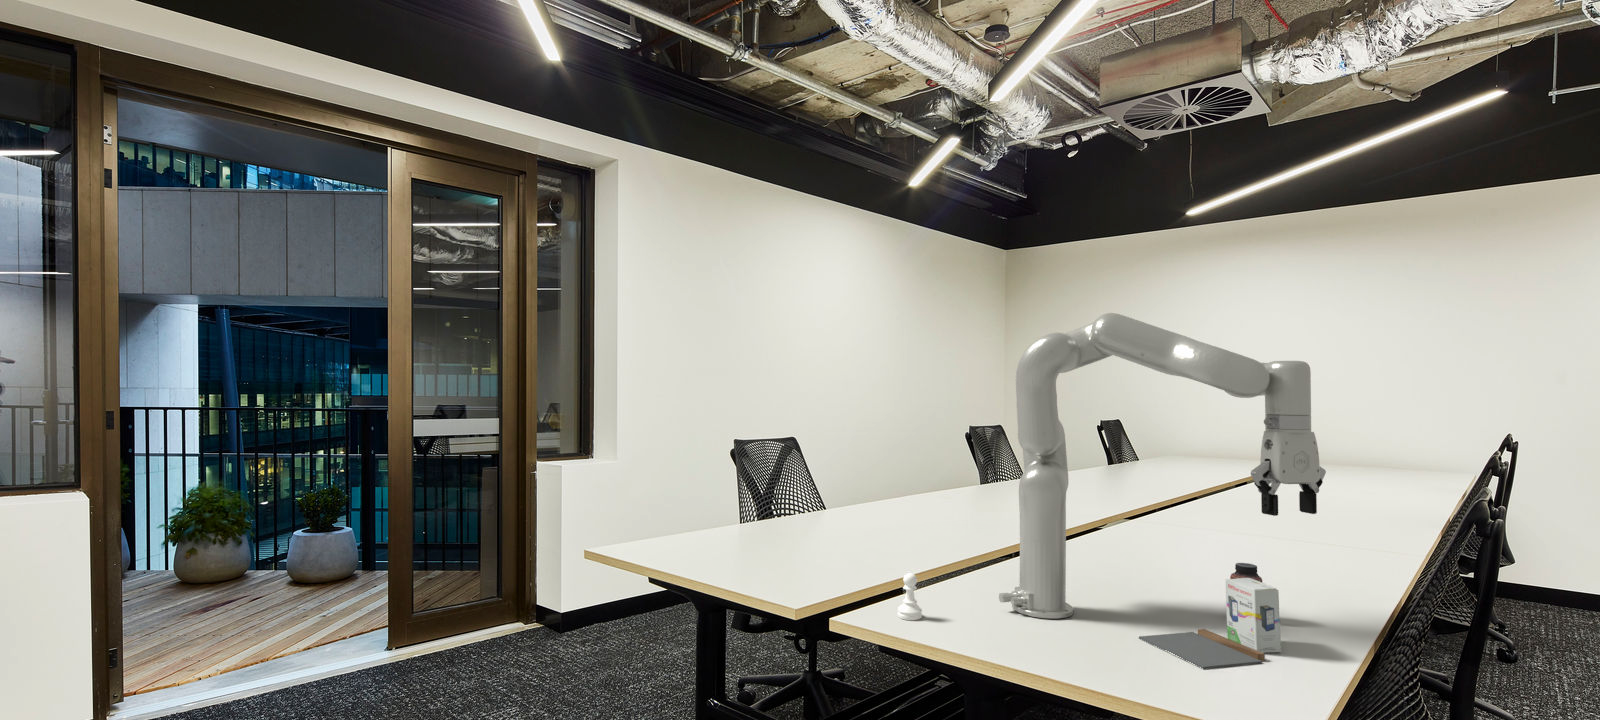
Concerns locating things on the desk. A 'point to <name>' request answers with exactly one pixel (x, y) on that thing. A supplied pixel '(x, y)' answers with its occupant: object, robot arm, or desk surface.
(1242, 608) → the ink box
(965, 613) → the desk surface
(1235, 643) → the stop strip
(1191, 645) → the mat
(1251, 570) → the supplement bottle
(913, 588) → the chess pawn
